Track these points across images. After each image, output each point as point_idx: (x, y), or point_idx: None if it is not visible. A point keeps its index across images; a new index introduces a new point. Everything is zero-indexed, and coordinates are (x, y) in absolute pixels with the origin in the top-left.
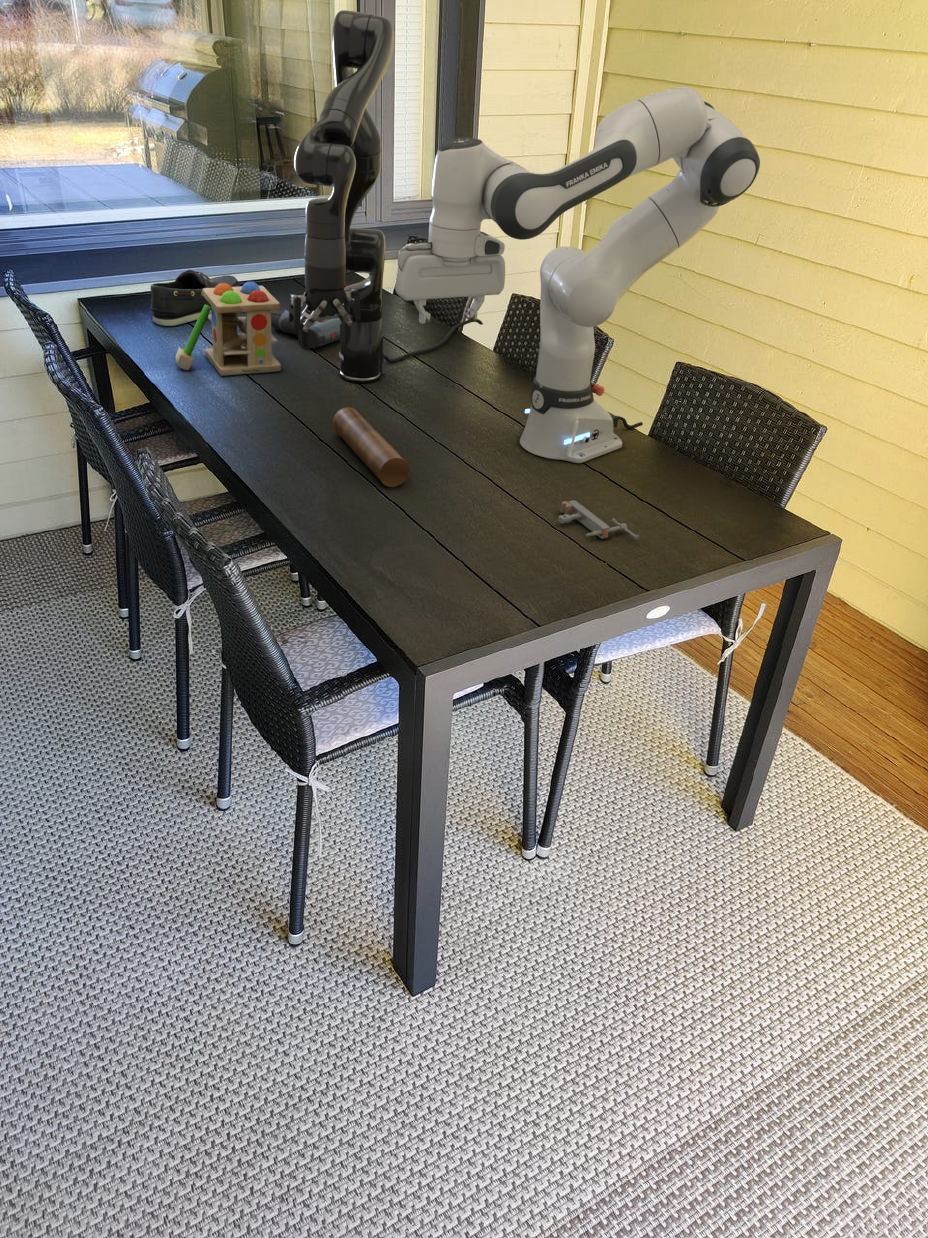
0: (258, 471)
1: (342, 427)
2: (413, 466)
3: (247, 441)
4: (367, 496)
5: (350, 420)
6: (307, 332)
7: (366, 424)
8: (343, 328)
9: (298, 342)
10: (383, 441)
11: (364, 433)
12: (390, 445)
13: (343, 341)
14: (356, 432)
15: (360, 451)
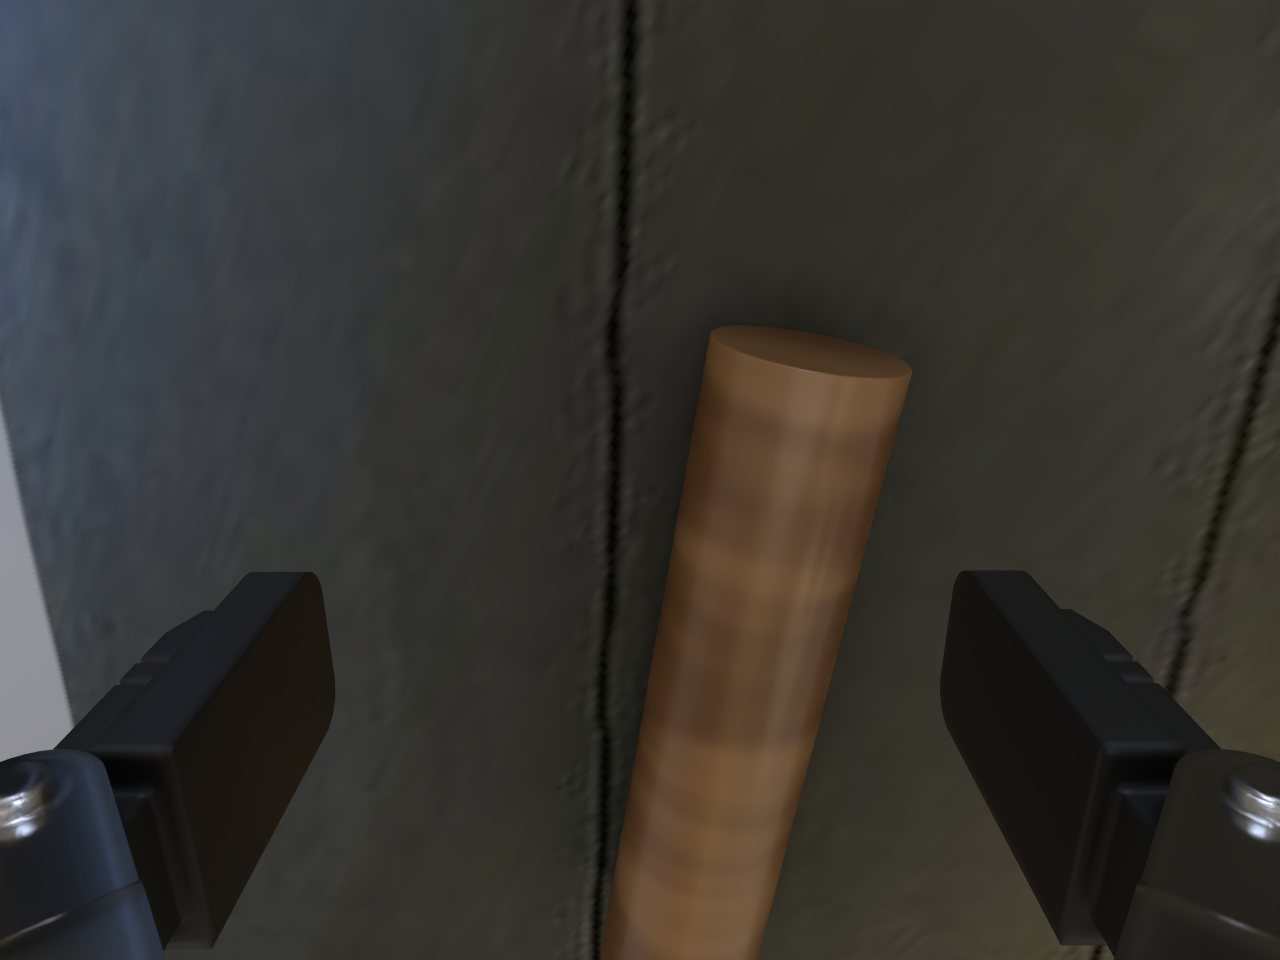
0: (132, 540)
1: (690, 506)
2: (879, 786)
3: (172, 153)
4: (525, 917)
5: (737, 554)
6: (177, 937)
7: (786, 663)
8: (1047, 836)
9: (163, 637)
10: (740, 870)
11: (705, 747)
12: (765, 879)
13: (958, 687)
14: (688, 680)
15: (637, 758)
